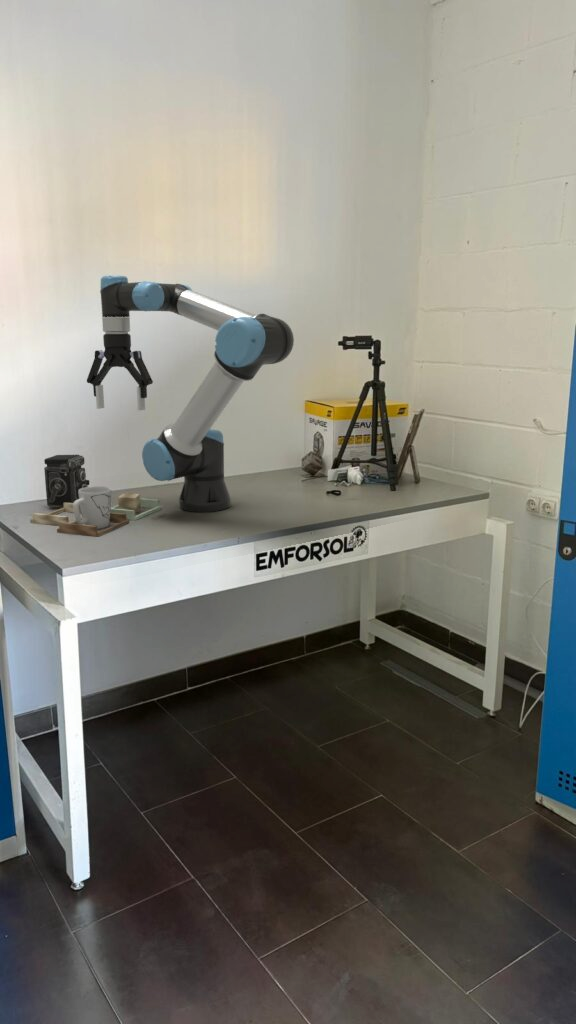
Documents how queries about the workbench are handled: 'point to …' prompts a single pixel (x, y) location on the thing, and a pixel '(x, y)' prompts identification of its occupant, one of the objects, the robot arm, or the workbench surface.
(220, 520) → the workbench surface
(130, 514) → the sage rim
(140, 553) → the workbench surface
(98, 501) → the mug
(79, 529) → the walnut rim
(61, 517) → the birch rim
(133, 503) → the birch cube
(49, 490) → the camera
